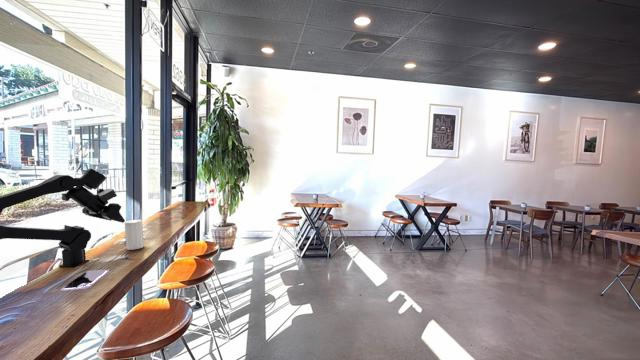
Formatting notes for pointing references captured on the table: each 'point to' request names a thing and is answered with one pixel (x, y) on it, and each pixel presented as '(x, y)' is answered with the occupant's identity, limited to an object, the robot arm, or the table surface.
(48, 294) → the table surface
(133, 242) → the white rounded tall piece
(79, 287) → the mobile phone
